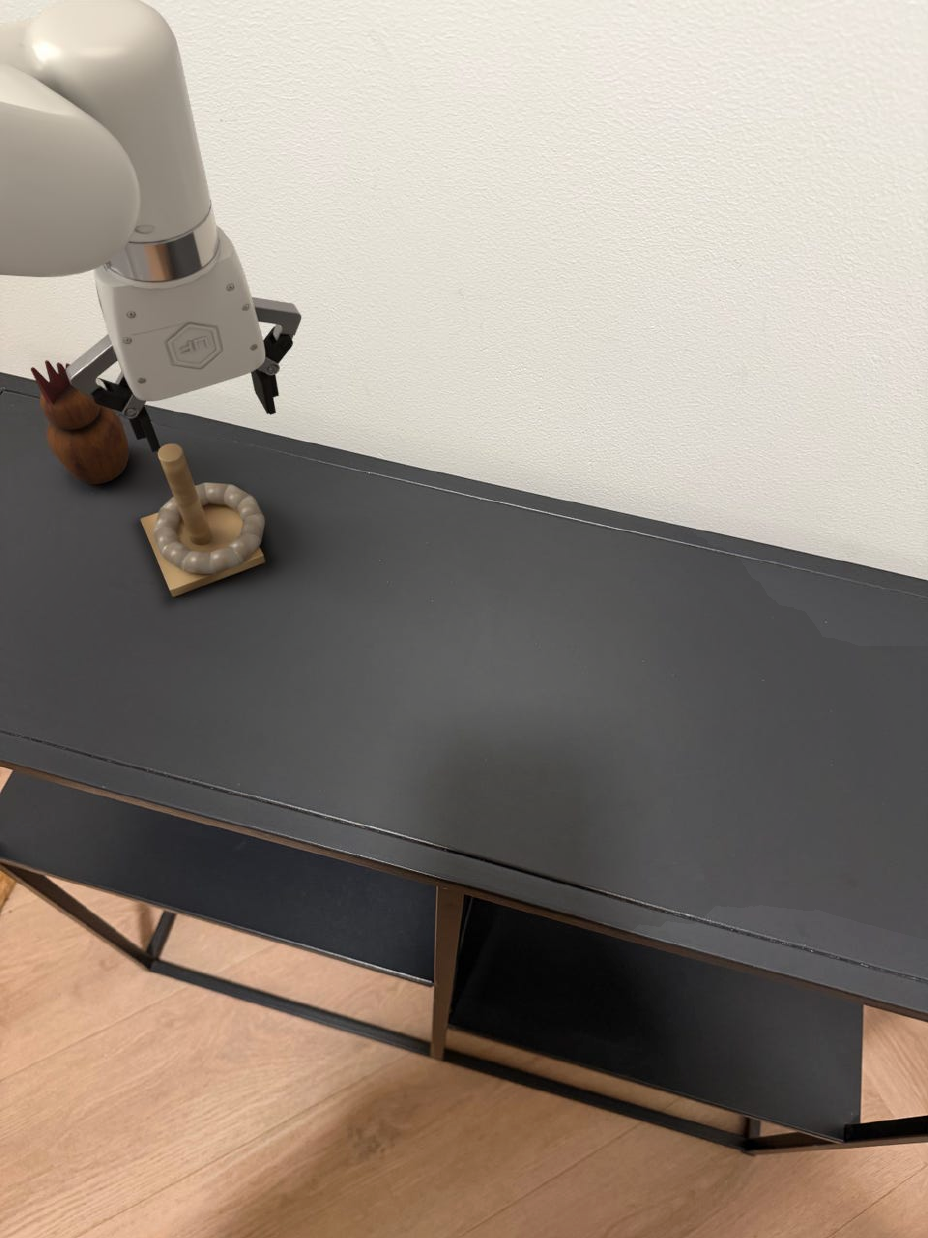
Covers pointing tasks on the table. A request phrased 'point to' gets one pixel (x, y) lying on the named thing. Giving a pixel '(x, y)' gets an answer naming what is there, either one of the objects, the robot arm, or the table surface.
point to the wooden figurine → (81, 429)
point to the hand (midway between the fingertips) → (209, 420)
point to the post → (195, 525)
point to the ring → (220, 558)
